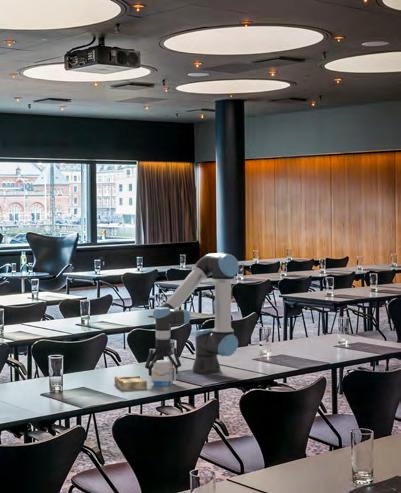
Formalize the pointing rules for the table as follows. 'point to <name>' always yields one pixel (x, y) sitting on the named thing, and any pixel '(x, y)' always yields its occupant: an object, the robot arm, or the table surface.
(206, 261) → the robot arm
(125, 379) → the dock
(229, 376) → the table surface
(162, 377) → the ink box
